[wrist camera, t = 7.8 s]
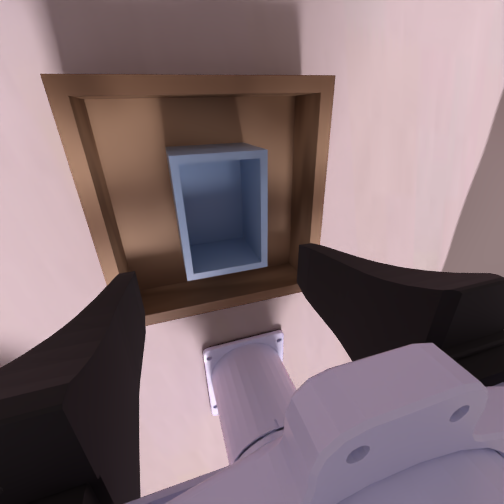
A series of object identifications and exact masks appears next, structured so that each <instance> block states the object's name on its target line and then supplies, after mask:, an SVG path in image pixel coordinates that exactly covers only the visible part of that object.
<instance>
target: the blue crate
mask: <svg viewBox="0 0 504 504" xmlns="http://www.w3.org/2000/svg"><path fill="white" fill-rule="evenodd" d="M165 149H166V155H167V162H168V168H169V174H170V181H171V187H172V194H173V200H174V207H175V213H176V219H177V226H178V232H179V239H180V245H181V251H182V256H183V261H184V266H185V271H186V276H187V281H191V280H197V279H202V278H208V277H213V276H219V275H224V274H230V273H235V272H241V271H246V270H252V269H257V268H263V267H267V253H268V150H267V149H264V148H260V147H257V146H254V145H250V144H247V143H244V142H243V143H225V144H207V145H189V146H171V147H165Z"/></svg>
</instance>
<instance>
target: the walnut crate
mask: <svg viewBox="0 0 504 504" xmlns="http://www.w3.org/2000/svg"><path fill="white" fill-rule="evenodd" d="M40 75H41V78H42V81H43V84H44V88H45V91H46V94H47V97H48V100H49V103H50V107H51V110H52V113H53V116H54V119H55V122H56V126H57V129H58V132H59V135H60V138H61V141H62V145H63V148H64V151H65V154H66V157H67V160H68V164H69V167H70V170H71V173H72V176H73V179H74V183H75V186H76V189H77V192H78V195H79V198H80V202H81V205H82V208H83V211H84V214H85V217H86V221H87V224H88V227H89V230H90V233H91V236H92V240H93V243H94V246H95V249H96V252H97V255H98V259H99V262H100V265H101V268H102V271H103V274H104V278H105V281H106V284H107V285H108V284H109V283H110V282H111V281H112V280H113V279H114V278H115V277H116V276H117V275H118V274H119V273H125V272H131V271H135V272H136V276H137V281H138V285H139V289H140V293H141V297H142V302H143V306H144V310H145V326H148V325H152V324H157V323H161V322H166V321H171V320H175V319H180V318H184V317H189V316H193V315H198V314H203V313H207V312H212V311H216V310H221V309H226V308H230V307H235V306H239V305H244V304H249V303H253V302H258V301H262V300H267V299H272V298H276V297H281V296H285V295H290V294H294V293H299V292H302V291H301V289H300V287H299V286H298V284H297V268H298V252H299V245H302V244H308V243H313V244H318V245H320V237H321V226H322V215H323V204H324V193H325V182H326V172H327V161H328V150H329V139H330V128H331V117H332V106H333V95H334V84H335V75H158V74H40ZM243 142H244V143H247V144H250V145H254V146H257V147H260V148H264V149H267V150H268V253H267V267H263V268H257V269H252V270H246V271H241V272H235V273H230V274H224V275H219V276H213V277H208V278H202V279H197V280H191V281H187V276H186V271H185V266H184V261H183V256H182V251H181V245H180V239H179V232H178V226H177V219H176V213H175V207H174V200H173V194H172V187H171V181H170V174H169V168H168V162H167V155H166V149H165V147H171V146H189V145H207V144H225V143H243Z"/></svg>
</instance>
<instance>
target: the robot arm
mask: <svg viewBox="0 0 504 504" xmlns="http://www.w3.org/2000/svg"><path fill="white" fill-rule="evenodd" d="M297 284H298V286H299V287H300V289H301V291H302V293H303V294H304V296H305V298H306V299H307V300H308V302H309V303H310V304H311V306H312V307H313V308H314V309H315V311H316V312H317V313H318V314H319V315H320V317H321V318H322V319H323V320H324V322H325V323H326V324H327V325H328V327H329V328H330V329H331V330H332V331H333V333H334V334H335V335H336V337H337V338H338V340H339V341H340V343H341V344H342V346H343V347H344V349H345V350H346V352H347V353H348V355H349V357H350V358H351V360H352V362H349V363H346V364H343V365H339V366H336V367H332V368H329V369H327V370H325V371H323V372H321V373H319V374H317V375H315V376H313V377H311V378H309V379H308V380H307V381H306V382H305V383H304V384H303V385H301V386H300V387H299V388H298V389H297V390H296V388H295V386H294V384H293V382H292V380H291V378H290V376H289V374H288V372H287V370H286V369H285V367H284V365H283V340H284V334H283V332H282V331H281V330H277V331H273V332H269V333H265V334H261V335H257V336H253V337H249V338H245V339H241V340H237V341H233V342H229V343H225V344H221V345H217V346H213V347H209V348H206V349H205V350H204V351H203V358H204V364H205V371H206V378H207V385H208V391H209V398H210V405H211V411H212V415H214V416H216V415H219V418H220V423H221V428H222V432H223V437H224V442H225V446H226V451H227V456H228V460H229V466H227V467H224V468H221V469H219V470H216V471H213V472H210V473H208V474H205V475H202V476H199V477H196V478H194V479H191V480H188V481H185V482H183V483H180V484H177V485H174V486H172V487H169V488H166V489H163V490H161V491H158V492H155V493H152V494H150V495H147V496H144V497H141V498H140V461H139V388H140V377H141V369H142V360H143V352H144V343H145V334H146V329H145V310H144V306H143V302H142V297H141V293H140V289H139V285H138V281H137V276H136V272H135V271H131V272H125V273H119V274H118V275H117V276H116V277H115V278H114V279H113V280H112V281H111V282H110V283H109V284H108V285H107V286H106V288H105V289H104V290H103V291H102V292H101V293H100V294H99V295H98V296H97V297H96V298H95V299H94V300H93V301H92V302H91V303H90V304H89V305H88V306H87V307H86V308H85V309H83V310H82V311H81V312H80V313H79V314H78V315H77V316H76V317H75V318H74V319H72V320H71V321H70V322H69V323H68V324H66V325H65V326H64V327H62V328H61V329H60V330H59V331H57V332H56V333H55V334H53V335H52V336H50V337H49V338H48V339H46V340H45V341H43V342H42V343H40V344H38V345H37V346H35V347H34V348H32V349H31V350H29V351H28V352H26V353H25V354H23V355H22V356H20V357H18V358H17V359H15V360H13V361H12V362H10V363H8V364H7V365H5V366H3V367H1V368H0V504H504V277H501V276H499V275H496V274H491V273H449V272H436V271H425V270H418V269H410V268H403V267H398V266H393V265H388V264H383V263H378V262H374V261H371V260H367V259H363V258H360V257H356V256H353V255H350V254H347V253H344V252H341V251H338V250H334V249H331V248H328V247H325V246H322V245H318V244H313V243H308V244H302V245H299V252H298V268H297ZM277 339H278V340H277ZM209 356H211V357H209ZM207 357H208V358H207Z"/></svg>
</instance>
